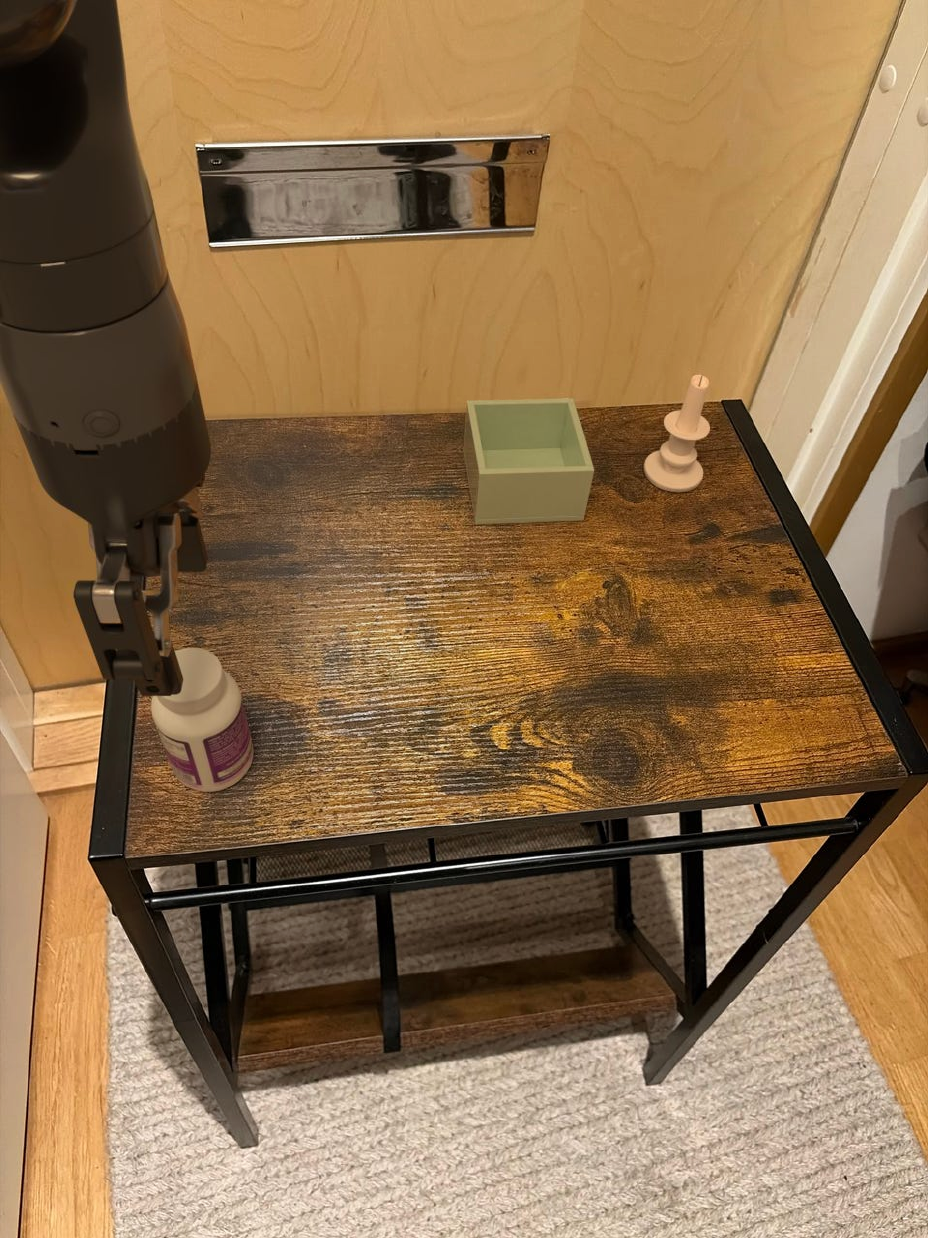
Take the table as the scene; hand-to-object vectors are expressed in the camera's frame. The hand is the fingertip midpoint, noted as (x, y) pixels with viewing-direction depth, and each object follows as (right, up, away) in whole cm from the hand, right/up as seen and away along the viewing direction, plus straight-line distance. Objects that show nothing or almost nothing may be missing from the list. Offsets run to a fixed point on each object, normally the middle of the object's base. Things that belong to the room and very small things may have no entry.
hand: (176, 625), depth 52 cm
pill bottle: (-1, -9, +11) cm, 14 cm away
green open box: (+21, +12, +30) cm, 38 cm away
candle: (+34, +13, +32) cm, 49 cm away
